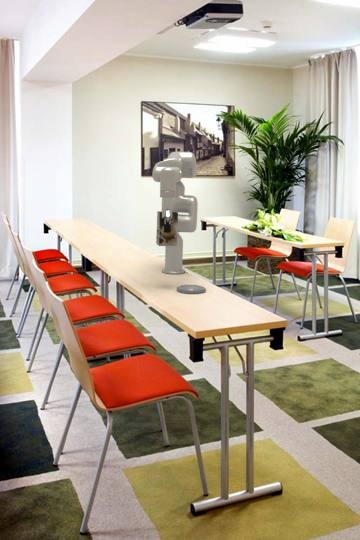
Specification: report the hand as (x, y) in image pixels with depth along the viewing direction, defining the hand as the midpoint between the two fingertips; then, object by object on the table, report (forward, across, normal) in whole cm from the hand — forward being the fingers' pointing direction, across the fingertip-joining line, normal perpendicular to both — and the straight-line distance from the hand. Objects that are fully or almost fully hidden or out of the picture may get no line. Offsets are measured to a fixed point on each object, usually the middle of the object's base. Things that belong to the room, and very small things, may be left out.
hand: (167, 230), depth 296 cm
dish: (+27, +8, +12) cm, 31 cm away
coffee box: (+7, 0, 0) cm, 7 cm away
